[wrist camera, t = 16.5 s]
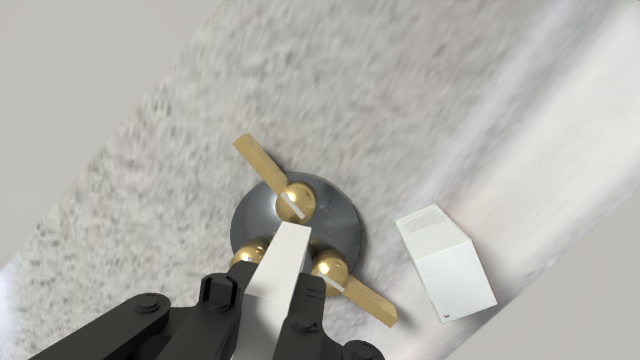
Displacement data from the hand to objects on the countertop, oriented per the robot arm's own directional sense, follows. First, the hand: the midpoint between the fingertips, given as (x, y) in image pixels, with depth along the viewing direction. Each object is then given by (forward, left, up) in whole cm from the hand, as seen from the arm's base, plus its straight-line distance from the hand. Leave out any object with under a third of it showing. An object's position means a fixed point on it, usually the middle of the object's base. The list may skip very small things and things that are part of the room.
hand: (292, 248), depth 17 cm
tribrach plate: (+11, -2, -29) cm, 31 cm away
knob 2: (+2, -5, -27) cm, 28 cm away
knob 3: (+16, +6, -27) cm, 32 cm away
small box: (+9, +16, -30) cm, 35 cm away
